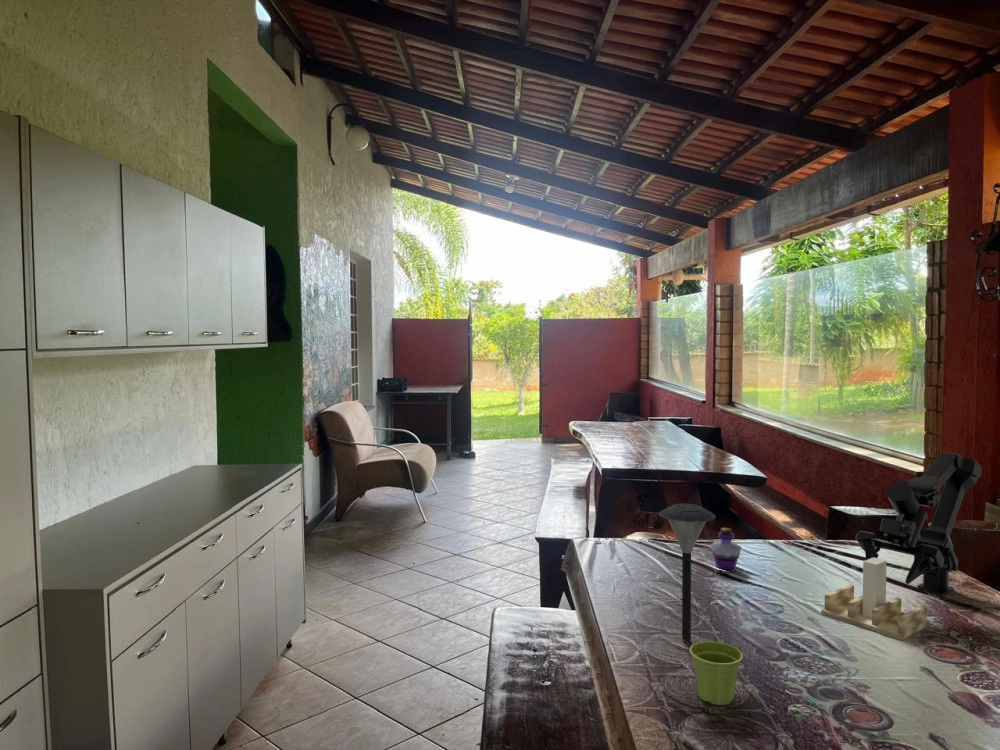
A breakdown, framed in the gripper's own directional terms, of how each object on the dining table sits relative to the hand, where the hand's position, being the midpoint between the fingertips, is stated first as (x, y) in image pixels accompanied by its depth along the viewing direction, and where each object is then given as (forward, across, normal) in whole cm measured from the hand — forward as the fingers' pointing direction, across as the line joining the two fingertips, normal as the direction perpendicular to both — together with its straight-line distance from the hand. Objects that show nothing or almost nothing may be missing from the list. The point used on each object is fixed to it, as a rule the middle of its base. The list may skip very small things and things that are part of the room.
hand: (886, 577), depth 162 cm
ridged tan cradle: (+10, 0, +2) cm, 11 cm away
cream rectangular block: (+10, 0, +1) cm, 10 cm away
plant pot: (+52, 0, -41) cm, 66 cm away
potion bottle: (+9, -43, +4) cm, 44 cm away
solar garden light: (+42, -19, -30) cm, 55 cm away
